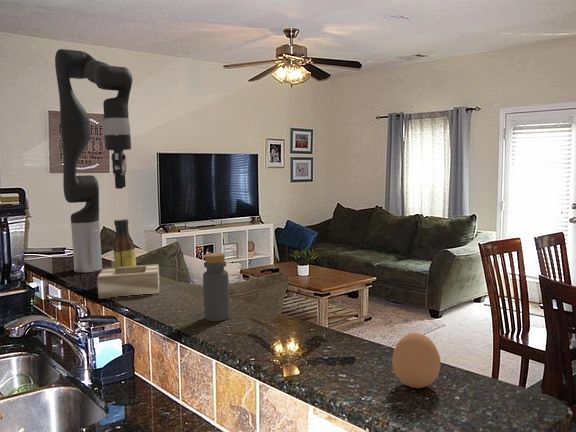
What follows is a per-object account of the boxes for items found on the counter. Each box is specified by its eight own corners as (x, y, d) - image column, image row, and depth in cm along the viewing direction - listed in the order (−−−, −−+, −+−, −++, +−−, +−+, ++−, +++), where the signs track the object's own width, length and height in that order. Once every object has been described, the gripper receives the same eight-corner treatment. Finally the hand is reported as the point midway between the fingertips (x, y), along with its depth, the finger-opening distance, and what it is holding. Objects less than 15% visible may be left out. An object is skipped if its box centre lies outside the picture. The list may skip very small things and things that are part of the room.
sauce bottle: (140, 280, 169) (136, 218, 167) (133, 285, 163) (129, 220, 161) (120, 281, 170) (116, 218, 168) (112, 285, 163) (108, 220, 162)
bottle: (234, 315, 127) (231, 252, 126) (223, 322, 122) (220, 256, 120) (212, 313, 129) (209, 252, 128) (200, 320, 124) (197, 256, 122)
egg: (436, 399, 80) (436, 343, 79) (387, 392, 83) (386, 338, 82) (443, 380, 86) (443, 328, 85) (397, 374, 89) (397, 324, 88)
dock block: (104, 287, 161) (103, 267, 161) (159, 283, 164) (158, 264, 164) (98, 298, 147) (97, 277, 147) (158, 294, 151) (157, 272, 150)
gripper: (107, 135, 168) (110, 187, 170) (101, 132, 154) (105, 189, 156) (132, 135, 169) (135, 186, 171) (128, 132, 156) (131, 188, 157)
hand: (120, 188), depth 163 cm, fingers open, 8 cm apart
